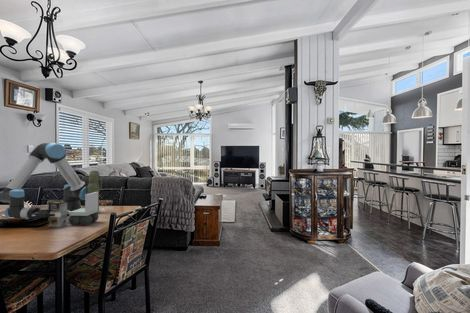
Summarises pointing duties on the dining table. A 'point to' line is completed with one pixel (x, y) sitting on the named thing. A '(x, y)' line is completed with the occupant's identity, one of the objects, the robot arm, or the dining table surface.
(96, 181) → the thermos
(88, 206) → the cart
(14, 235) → the dining table surface
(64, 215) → the coffee box
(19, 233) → the dining table surface
